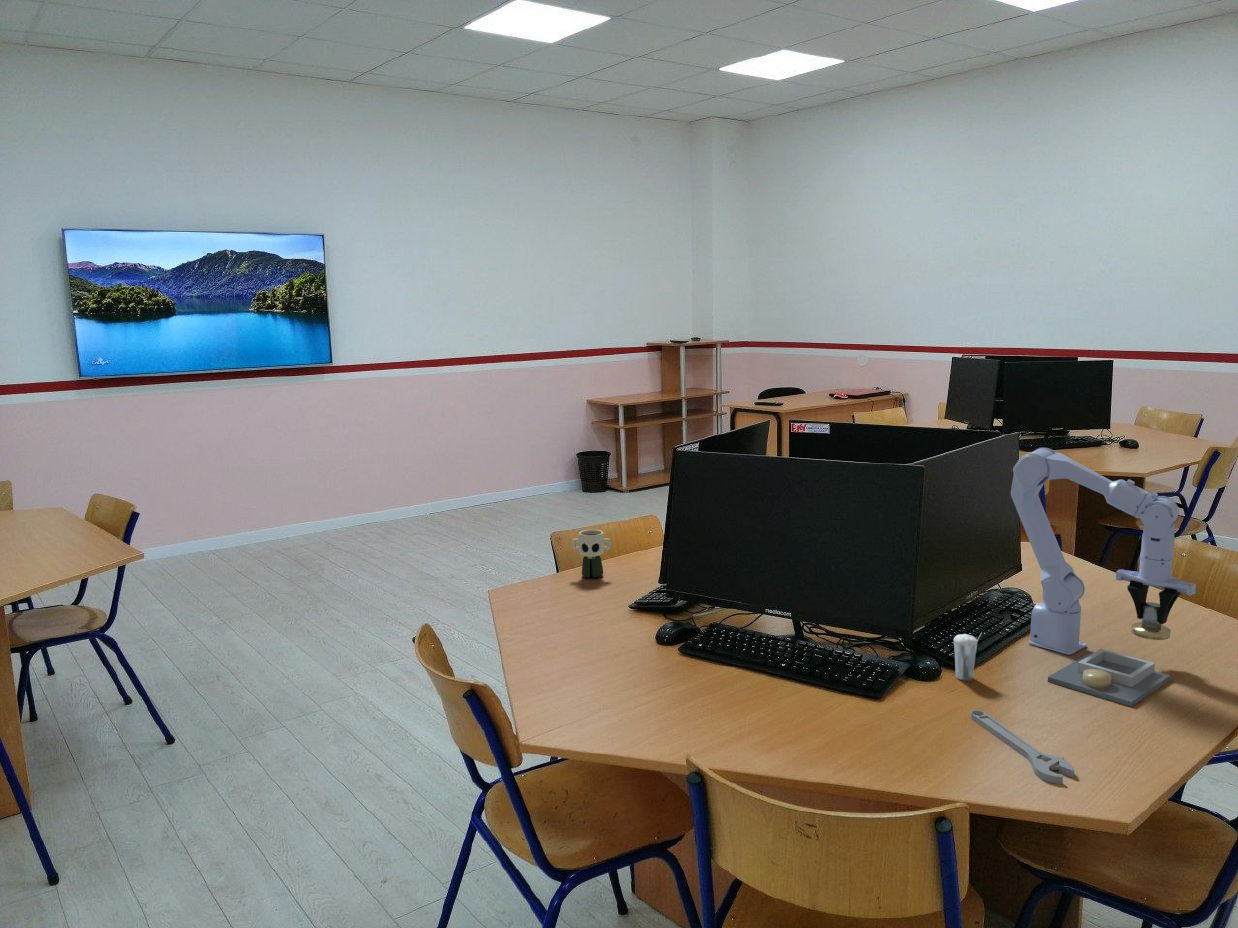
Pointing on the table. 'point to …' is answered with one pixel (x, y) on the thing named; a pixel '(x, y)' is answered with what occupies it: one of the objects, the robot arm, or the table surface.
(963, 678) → the milkshake
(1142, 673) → the carrier
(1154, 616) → the flanged metal cylinder
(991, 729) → the adjustable wrench
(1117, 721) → the table surface
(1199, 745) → the table surface
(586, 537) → the character mug
